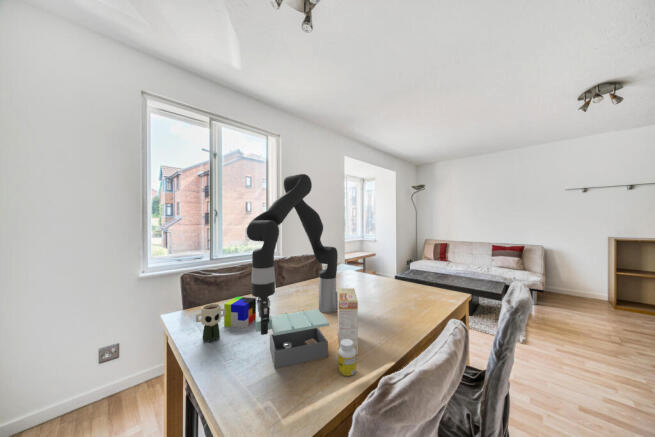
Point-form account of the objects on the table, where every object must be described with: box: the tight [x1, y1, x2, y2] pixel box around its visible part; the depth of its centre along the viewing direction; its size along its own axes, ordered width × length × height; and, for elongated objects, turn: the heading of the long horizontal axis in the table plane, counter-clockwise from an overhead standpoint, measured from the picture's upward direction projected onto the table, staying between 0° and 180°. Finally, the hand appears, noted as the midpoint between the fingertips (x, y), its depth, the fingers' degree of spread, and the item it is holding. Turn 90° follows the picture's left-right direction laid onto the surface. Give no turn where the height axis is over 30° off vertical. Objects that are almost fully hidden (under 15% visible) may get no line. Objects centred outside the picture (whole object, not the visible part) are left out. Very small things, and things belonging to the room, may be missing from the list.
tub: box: [269, 327, 329, 370], centre depth 83 cm, size 18×12×6 cm, turn 110°
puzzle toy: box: [223, 296, 257, 329], centre depth 109 cm, size 10×10×10 cm
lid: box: [255, 308, 330, 336], centre depth 82 cm, size 24×13×3 cm, turn 110°
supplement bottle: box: [338, 339, 357, 378], centre depth 73 cm, size 5×5×10 cm
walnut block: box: [304, 339, 318, 345], centre depth 83 cm, size 4×4×4 cm
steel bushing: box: [283, 342, 292, 349], centre depth 83 cm, size 3×3×3 cm
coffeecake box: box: [337, 287, 359, 355], centre depth 89 cm, size 15×7×20 cm, turn 178°
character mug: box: [195, 303, 226, 343], centre depth 94 cm, size 11×7×13 cm, turn 127°
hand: (263, 331), depth 79 cm, fingers closed on lid, 3 cm apart
